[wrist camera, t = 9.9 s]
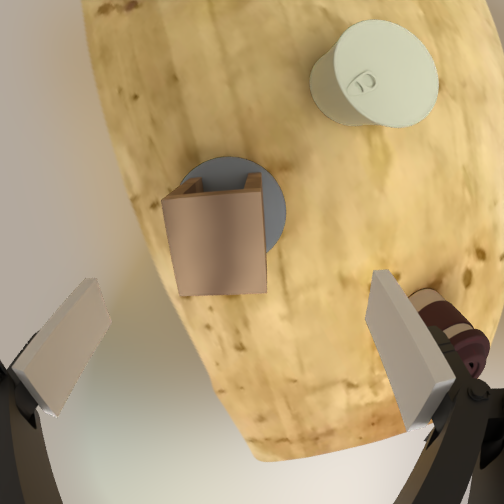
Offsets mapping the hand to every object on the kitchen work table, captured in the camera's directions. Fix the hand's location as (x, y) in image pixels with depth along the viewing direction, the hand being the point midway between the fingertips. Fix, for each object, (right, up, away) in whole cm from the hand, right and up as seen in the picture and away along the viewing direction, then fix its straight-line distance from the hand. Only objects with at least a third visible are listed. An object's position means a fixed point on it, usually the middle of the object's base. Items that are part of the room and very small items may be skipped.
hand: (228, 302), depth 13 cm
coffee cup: (+26, -6, +26) cm, 38 cm away
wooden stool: (-2, +7, +20) cm, 22 cm away
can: (+12, +20, +15) cm, 28 cm away
